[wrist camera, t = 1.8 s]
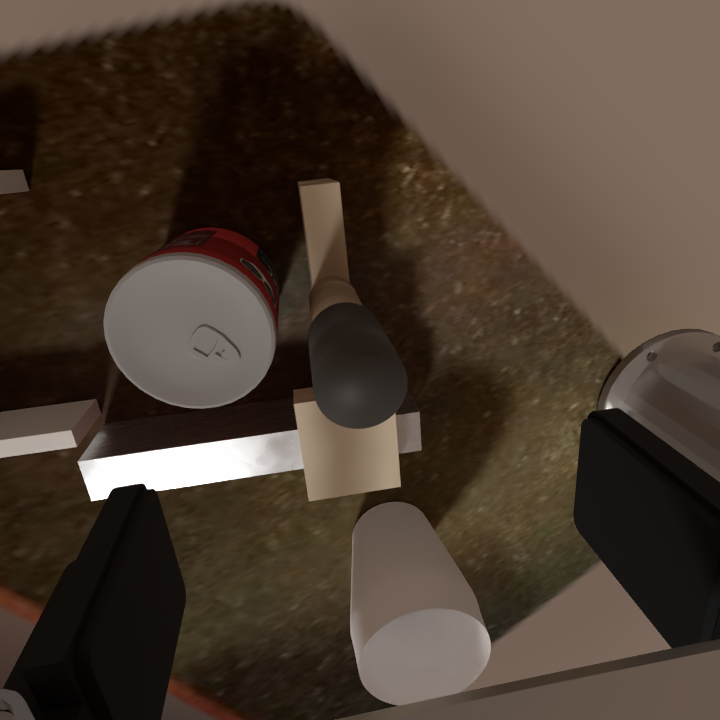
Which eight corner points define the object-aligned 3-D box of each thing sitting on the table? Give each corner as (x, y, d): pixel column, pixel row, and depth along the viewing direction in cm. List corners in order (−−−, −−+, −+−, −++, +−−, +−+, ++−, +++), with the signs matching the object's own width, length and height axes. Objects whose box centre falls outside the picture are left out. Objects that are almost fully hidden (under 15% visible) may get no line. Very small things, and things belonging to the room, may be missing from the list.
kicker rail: (403, 381, 38) (419, 411, 34) (406, 416, 39) (421, 450, 35) (104, 423, 36) (77, 461, 32) (115, 459, 38) (91, 500, 33)
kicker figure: (360, 174, 32) (442, 189, 15) (382, 434, 39) (455, 645, 22) (265, 184, 32) (238, 212, 14) (305, 446, 39) (319, 671, 22)
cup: (406, 469, 41) (449, 582, 30) (460, 536, 45) (517, 660, 34) (317, 528, 42) (327, 658, 31) (376, 589, 46) (404, 727, 35)
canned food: (263, 351, 36) (254, 426, 26) (147, 320, 34) (88, 387, 24) (294, 247, 34) (296, 285, 24) (171, 208, 32) (116, 230, 22)
